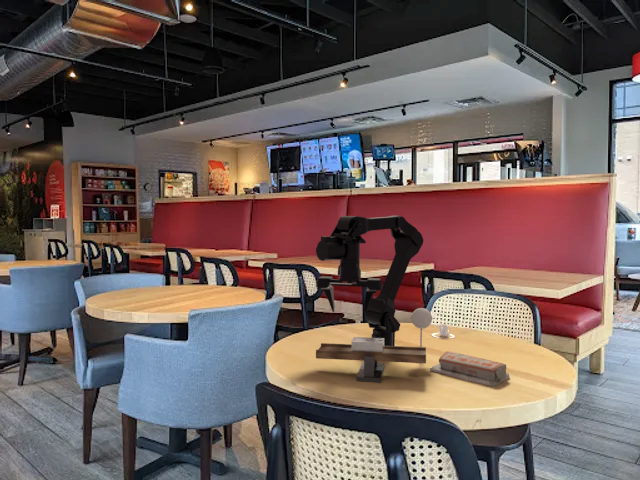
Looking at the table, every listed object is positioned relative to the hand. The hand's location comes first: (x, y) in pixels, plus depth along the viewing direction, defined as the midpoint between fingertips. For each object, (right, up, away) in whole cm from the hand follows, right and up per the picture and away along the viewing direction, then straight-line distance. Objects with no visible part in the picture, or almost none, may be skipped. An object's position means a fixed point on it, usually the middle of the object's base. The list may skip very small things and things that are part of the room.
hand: (349, 312), depth 146 cm
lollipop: (+21, -14, -2) cm, 25 cm away
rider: (+4, -8, -15) cm, 18 cm away
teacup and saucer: (+37, -13, +27) cm, 48 cm away
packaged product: (+31, -15, -14) cm, 37 cm away
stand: (+5, -14, -15) cm, 21 cm away
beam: (+5, -9, -15) cm, 18 cm away
